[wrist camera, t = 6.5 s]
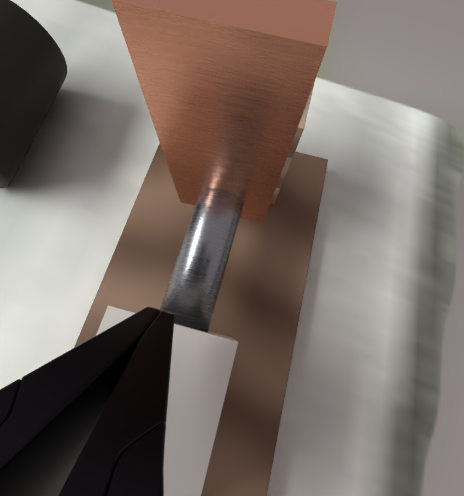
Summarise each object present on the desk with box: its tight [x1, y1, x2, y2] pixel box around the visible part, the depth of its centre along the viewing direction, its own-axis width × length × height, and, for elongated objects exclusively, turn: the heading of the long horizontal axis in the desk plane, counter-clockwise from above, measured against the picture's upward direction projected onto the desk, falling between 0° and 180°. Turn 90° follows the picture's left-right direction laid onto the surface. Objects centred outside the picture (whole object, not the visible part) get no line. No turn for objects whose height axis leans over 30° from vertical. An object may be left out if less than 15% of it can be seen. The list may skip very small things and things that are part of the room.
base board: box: [74, 144, 328, 496], centre depth 17 cm, size 22×12×1 cm, turn 165°
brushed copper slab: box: [112, 0, 336, 333], centre depth 10 cm, size 13×5×10 cm, turn 165°
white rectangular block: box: [96, 306, 238, 496], centre depth 11 cm, size 8×5×6 cm, turn 165°
